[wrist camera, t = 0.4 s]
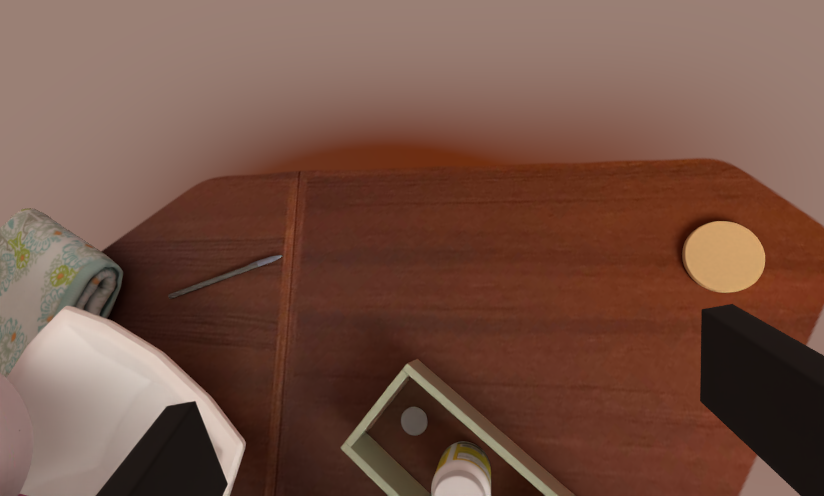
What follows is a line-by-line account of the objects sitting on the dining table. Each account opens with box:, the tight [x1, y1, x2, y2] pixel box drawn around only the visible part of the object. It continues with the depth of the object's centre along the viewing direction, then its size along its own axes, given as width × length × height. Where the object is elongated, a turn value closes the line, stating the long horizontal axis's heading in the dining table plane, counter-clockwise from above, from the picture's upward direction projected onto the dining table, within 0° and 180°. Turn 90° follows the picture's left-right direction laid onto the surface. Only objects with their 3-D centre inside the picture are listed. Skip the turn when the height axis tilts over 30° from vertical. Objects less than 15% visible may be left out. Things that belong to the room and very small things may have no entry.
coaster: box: [682, 221, 765, 293], centre depth 39 cm, size 6×6×1 cm
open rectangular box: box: [341, 359, 575, 496], centre depth 38 cm, size 19×9×5 cm, turn 51°
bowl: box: [7, 306, 246, 496], centre depth 41 cm, size 24×25×11 cm
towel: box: [0, 208, 123, 378], centre depth 49 cm, size 18×21×5 cm
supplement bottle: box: [431, 441, 491, 496], centre depth 36 cm, size 5×5×8 cm
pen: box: [169, 255, 282, 299], centre depth 48 cm, size 1×1×14 cm
